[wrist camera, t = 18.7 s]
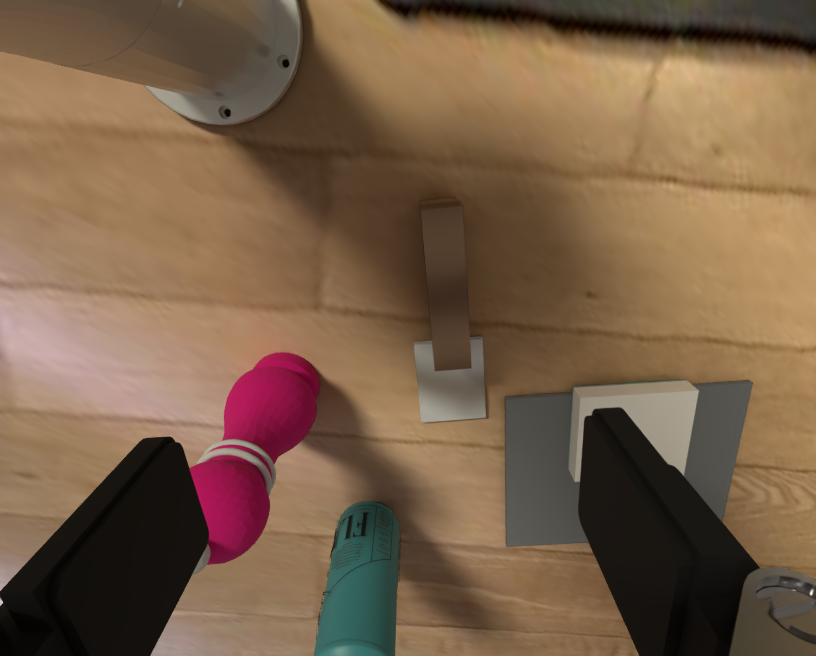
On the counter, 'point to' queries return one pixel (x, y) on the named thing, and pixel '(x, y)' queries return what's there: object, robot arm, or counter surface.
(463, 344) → the wooden handled spatula
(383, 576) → the beverage bottle
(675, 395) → the tile
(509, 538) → the tile mat
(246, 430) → the pepper mill
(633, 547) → the robot arm
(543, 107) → the counter surface
